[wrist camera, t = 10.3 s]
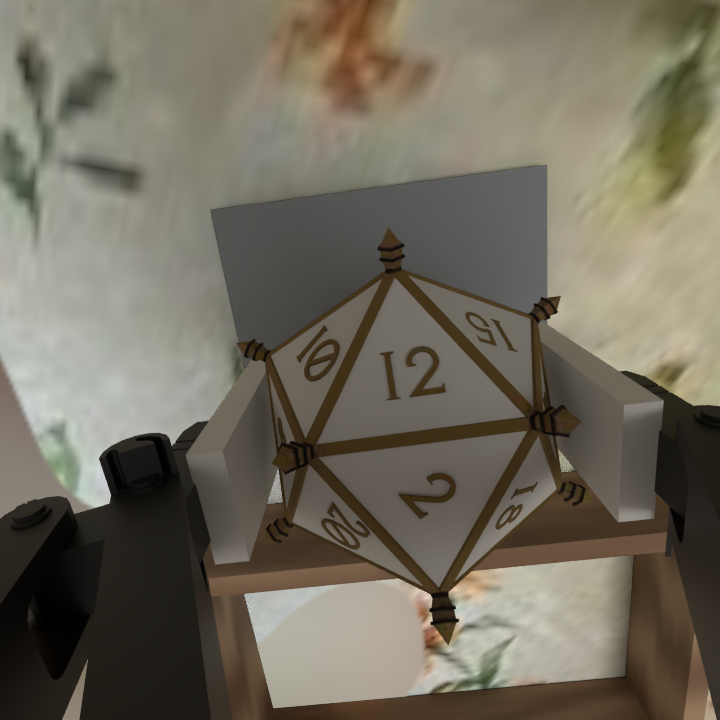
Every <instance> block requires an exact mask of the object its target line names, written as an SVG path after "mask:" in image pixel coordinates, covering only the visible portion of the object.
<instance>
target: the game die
mask: <svg viewBox="0 0 720 720" xmlns="http://www.w3.org/2000/svg"><path fill="white" fill-rule="evenodd" d="M402 247H405V246H404V244H403V243H401V242H400V241H399V240H398V239H397V237H396V236H395V235H394V234H393V232H392V231H391V230H390V228H389V227H388V229H387V231H386V234H385V236H384V238H383V241H382V243H381V244H380V245H379V247H378V248H377V250H378V251H380V253H381V257H380V258H379V260H380V261H381V262H383V264H384V266H385V271H383V272H382V273H381V274H379V275H378V276H376V277H375V278H373V279H372V280H371V281H369V282H368V283H366V284H365V285H364V286H362V287H361V288H359V289H358V290H356V291H355V292H354V293H352V294H351V295H349V296H348V297H347V298H345V299H344V300H342V301H341V302H339V303H338V304H337V305H335V306H334V307H332V308H331V309H330V310H328V311H327V312H325V313H324V314H323V315H321V316H320V317H318V318H317V319H315V320H314V321H313V322H311V323H310V324H308V325H307V326H306V327H304V328H303V329H301V330H300V331H298V332H297V333H296V334H294V335H293V336H291V337H290V338H289V339H287V340H286V341H284V342H283V343H281V344H280V345H279V346H277V347H276V348H274V349H273V350H272V351H271V350H268V349H266V348H265V347H264V346H263V344H264V343H261V344H260V343H258V342H256V339H253V340H252V341H246V342H240V343H237V345H238V346H239V348H240V349H241V351H242V352H243V354H244V357H245V358H252V360H253V361H258V360H261V361H263V362H265V367H266V375H267V383H268V390H269V398H270V406H271V413H272V421H273V429H274V437H275V444H276V452H277V455H276V457H275V459H274V460H273V462H272V464H273V465H275V466H277V467H278V468H279V475H280V483H281V491H282V498H283V506H284V514H285V517H284V518H281V519H278V518H277V519H276V520H275V521H274V523H273V524H271V523H270V524H269V525H268V526H267V528H266V530H267V531H266V534H265V536H264V539H263V542H262V543H270V542H278V543H281V542H282V539H283V538H284V537H288V536H289V535H288V532H289V531H290V529H291V528H292V527H296V528H298V529H300V530H302V531H304V532H306V533H308V534H310V535H312V536H314V537H316V538H318V539H321V540H323V541H325V542H327V543H329V544H331V545H333V546H335V547H337V548H339V549H341V550H343V551H345V552H347V553H349V554H351V555H353V556H355V557H357V558H359V559H361V560H363V561H365V562H367V563H369V564H371V565H373V566H375V567H377V568H379V569H381V570H383V571H385V572H387V573H389V574H391V575H393V576H395V577H397V578H399V579H401V580H403V581H405V582H407V583H409V584H411V585H413V586H415V587H417V588H419V589H421V590H423V591H425V592H427V593H429V594H431V596H432V598H433V600H432V608H430V609H429V612H432V618H433V622H431V625H434V626H435V628H436V629H437V630H438V632H439V633H440V634H441V636H442V637H443V639H444V640H445V641H446V643H447V644H448V645H449V642H450V639H451V636H452V634H453V631H454V628H455V625H456V623H457V622H459V619H456V617H455V613H454V609H456V607H455V606H453V605H452V603H451V601H450V599H449V597H448V592H449V591H450V590H451V589H452V588H453V587H454V586H456V585H457V584H458V583H459V582H460V581H461V580H462V579H463V578H464V577H465V576H467V575H468V574H469V573H470V572H471V571H472V570H473V569H474V568H475V567H476V566H478V565H479V564H480V563H481V562H482V561H483V560H484V559H485V558H486V557H487V556H489V555H490V554H491V553H492V552H493V551H494V550H495V549H496V548H497V547H498V546H500V545H501V544H502V543H503V542H504V541H505V540H506V539H507V538H508V537H509V536H511V535H512V534H513V533H514V532H515V531H516V530H517V529H518V528H519V527H520V526H522V525H523V524H524V523H525V522H526V521H527V520H528V519H529V518H530V517H531V516H533V515H534V514H535V513H536V512H537V511H538V510H539V509H540V508H541V507H542V506H544V505H545V504H546V503H547V502H548V501H549V500H550V499H551V498H552V497H554V496H555V495H556V494H560V495H561V496H562V497H563V498H564V501H565V502H567V501H569V502H571V503H572V504H573V506H576V505H578V504H582V503H589V502H593V500H592V499H591V498H590V496H589V495H588V493H587V492H586V488H585V487H583V486H581V485H579V484H578V486H577V484H575V483H573V482H571V481H569V483H568V482H563V481H562V474H561V468H560V461H559V455H558V449H557V442H556V436H562V437H568V438H569V435H570V432H572V431H573V430H574V429H575V428H576V427H577V426H578V425H580V424H581V423H582V422H581V421H580V420H579V419H577V418H576V417H575V416H573V415H572V414H571V413H569V411H568V410H567V409H566V407H565V406H564V405H561V406H559V407H558V408H555V409H554V407H553V406H551V404H550V397H549V391H548V384H547V378H546V372H545V365H544V359H543V352H542V346H541V340H540V333H539V327H538V324H539V322H540V321H541V320H547V319H549V318H551V317H550V315H553V314H556V313H557V312H558V311H557V308H558V304H559V301H560V297H561V296H558V297H550V298H543V297H541V298H540V300H541V301H539V302H538V303H537V304H536V303H534V304H533V305H534V308H533V309H532V311H531V312H530V313H528V314H527V313H524V312H521V311H519V310H516V309H513V308H510V307H507V306H505V305H502V304H499V303H496V302H493V301H491V300H488V299H485V298H482V297H479V296H477V295H474V294H471V293H468V292H465V291H463V290H460V289H457V288H454V287H451V286H449V285H446V284H443V283H440V282H437V281H435V280H432V279H429V278H426V277H423V276H421V275H418V274H415V273H412V272H409V271H407V270H404V269H402V268H401V263H402V259H403V258H405V255H404V254H402Z"/></svg>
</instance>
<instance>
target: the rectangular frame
mask: <svg viewBox="0 0 720 720" xmlns="http://www.w3.org/2000/svg"><path fill="white" fill-rule="evenodd" d="M561 474H562V481H563V482H568V483H569V481H571V482H573V483H575V484H577V486H578V484H579V485H581V486H583V487H585V488H586V492H587V493H588V495H589V496H590V498H591V499H592V500H593V502H589V503H582V504H578V505H576V506H573V504H572V503H571V502H569V501H567V502H565V501H564V498H563V497H562V496H561V495H560V494H556V495H555V496H554V497H552V498H551V499H550V500H549V501H548V502H547V503H546V504H545V505H544V506H542V507H541V508H540V509H539V510H538V511H537V512H536V513H535V514H534V515H533V516H531V517H530V518H529V519H528V520H527V521H526V522H525V523H524V524H523V525H522V526H520V527H519V528H518V529H517V530H516V531H515V532H514V533H513V534H512V535H511V536H509V537H508V538H507V539H506V540H505V541H504V542H503V543H502V544H501V545H500V546H498V547H497V548H496V549H495V550H494V551H493V552H492V553H491V554H490V555H489V556H487V557H486V558H485V559H484V560H483V561H482V562H481V563H480V564H479V565H478V566H476V567H475V568H474V569H473V570H472V571H476V570H487V569H497V568H507V567H517V566H527V565H537V564H547V563H557V562H567V561H577V560H587V559H597V558H607V557H617V556H627V555H634V568H633V582H632V596H631V610H630V624H629V639H628V653H627V667H626V677H622V678H610V679H599V680H588V681H577V682H565V683H554V684H543V685H532V686H520V687H509V688H498V689H487V690H476V691H464V692H453V693H442V694H431V695H419V696H408V697H398V698H386V699H374V700H363V701H353V702H341V703H330V704H319V705H307V706H296V707H285V708H273V706H272V702H271V698H270V694H269V690H268V686H267V683H266V679H265V675H264V671H263V667H262V663H261V659H260V655H259V652H258V648H257V644H256V640H255V636H254V632H253V628H252V624H251V621H250V617H249V613H248V609H247V605H246V601H245V597H244V594H245V593H255V592H265V591H275V590H285V589H296V588H306V587H316V586H326V585H336V584H346V583H356V582H366V581H376V580H386V579H396V578H397V577H395V576H393V575H391V574H389V573H387V572H385V571H383V570H381V569H379V568H377V567H375V566H373V565H371V564H369V563H367V562H365V561H363V560H361V559H359V558H357V557H355V556H353V555H351V554H349V553H347V552H345V551H343V550H341V549H339V548H337V547H335V546H333V545H331V544H329V543H327V542H325V541H323V540H321V539H318V538H316V537H314V536H312V535H310V534H308V533H306V532H304V531H302V530H300V529H298V528H296V527H292V528H291V529H290V531H289V532H288V535H289V536H288V537H284V538H283V539H282V542H281V543H278V542H270V543H262V542H263V539H264V536H265V534H266V531H267V530H266V528H267V526H268V525H269V524H270V523H271V524H273V523H274V521H275V520H276V519H277V518H278V519H281V518H284V517H285V514H284V506H283V503H277V504H268V505H266V508H265V512H264V515H263V518H262V521H261V525H260V528H259V531H258V534H257V538H256V541H255V544H254V547H253V551H252V554H251V557H250V560H249V561H245V562H235V563H226V564H216V565H215V562H214V558H213V554H212V551H211V547H210V543H209V546H208V548H207V550H206V552H205V555H204V557H203V560H204V564H205V567H206V571H207V574H208V580H209V586H210V592H211V597H212V603H213V609H214V615H215V620H216V626H217V632H218V638H219V644H220V649H221V655H222V661H223V667H224V672H225V678H226V684H227V690H228V695H229V701H230V707H231V713H232V718H233V720H704V717H705V710H706V703H707V696H708V690H709V686H708V682H707V679H706V675H705V671H704V667H703V663H702V659H701V655H700V651H699V647H698V643H697V639H696V635H695V631H694V627H693V623H692V620H691V616H690V612H689V608H688V604H687V600H686V596H685V592H684V588H683V584H682V580H681V576H680V572H679V568H678V564H677V561H676V557H675V553H674V550H672V556H671V557H666V556H665V549H666V538H667V527H668V516H669V505H668V504H667V503H666V502H665V501H664V500H663V499H662V498H661V497H660V496H659V495H658V494H657V493H656V503H655V516H654V519H645V520H635V521H626V522H617V520H616V519H615V518H614V517H613V515H612V514H611V513H610V512H609V511H608V509H607V508H606V507H605V506H604V504H603V503H602V502H601V501H600V499H599V498H598V497H597V496H596V494H595V493H594V492H593V491H592V490H591V488H590V487H589V486H588V485H587V483H586V482H585V481H584V480H583V478H582V477H581V476H580V475H579V473H578V472H577V471H576V472H566V473H561Z"/></svg>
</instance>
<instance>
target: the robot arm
mask: <svg viewBox="0 0 720 720" xmlns="http://www.w3.org/2000/svg"><path fill="white" fill-rule="evenodd" d="M538 327H539V333H540V340H541V346H542V352H543V359H544V365H545V372H546V378H547V384H548V391H549V397H550V404H551V406H553V407H554V409H555V408H558V407H559V406H561V405H564V406H565V407H566V409H567V410H568V411H569V413H571V414H572V415H573V416H575V417H576V418H577V419H579V420H580V421H581V422H582V423H581V424H580V425H578V426H577V427H576V428H575V429H574V430H573V431H572V432H570V435H569V438H568V437H562V436H556V442H557V448H558V449H559V450H560V451H561V452H562V454H563V455H564V456H565V457H566V459H567V460H568V461H569V462H570V464H571V465H572V466H573V467H574V469H575V470H576V471H577V472H578V473H579V475H580V476H581V477H582V478H583V480H584V481H585V482H586V483H587V485H588V486H589V487H590V488H591V490H592V491H593V492H594V493H595V494H596V496H597V497H598V498H599V499H600V501H601V502H602V503H603V504H604V506H605V507H606V508H607V509H608V511H609V512H610V513H611V514H612V515H613V517H614V518H615V519H616V520H617V522H626V521H635V520H645V519H654V516H655V503H656V493H657V494H658V495H659V496H660V497H661V498H662V499H663V500H664V501H665V502H666V503H667V504H668V505H669V516H668V527H667V538H666V549H665V556H666V557H671V556H672V550H674V553H675V557H676V561H677V564H678V568H679V572H680V576H681V580H682V584H683V588H684V592H685V596H686V600H687V604H688V608H689V612H690V616H691V620H692V623H693V627H694V631H695V635H696V639H697V643H698V647H699V651H700V655H701V659H702V663H703V667H704V671H705V675H706V679H707V682H708V686H709V690H710V694H711V698H712V702H713V706H714V710H715V714H716V718H717V720H720V406H712V405H700V406H693V405H691V404H689V403H688V402H686V401H684V400H683V399H681V398H679V397H678V396H676V395H674V394H673V393H669V392H668V390H666V389H665V388H663V387H661V386H658V384H656V383H655V382H653V381H651V380H650V379H648V378H647V377H645V376H641V375H638V374H635V373H632V372H628V371H620V372H619V371H618V370H616V369H614V368H613V367H611V366H610V365H608V364H607V363H605V362H604V361H602V360H601V359H599V358H598V357H596V356H594V355H593V354H591V353H590V352H588V351H587V350H585V349H584V348H582V347H581V346H579V345H577V344H576V343H574V342H573V341H571V340H570V339H568V338H567V337H565V336H564V335H562V334H561V333H559V332H557V331H556V330H554V329H553V328H551V327H550V326H548V325H547V324H545V323H544V322H542V321H540V322H539V324H538ZM276 455H277V452H276V444H275V437H274V429H273V421H272V413H271V406H270V398H269V390H268V383H267V375H266V367H265V362H263V361H261V360H258V361H253V360H252V359H251V361H250V362H249V364H248V365H247V367H246V368H245V370H244V371H243V372H242V374H241V375H240V377H239V378H238V380H237V381H236V383H235V384H234V386H233V387H232V388H231V390H230V391H229V393H228V394H227V396H226V397H225V399H224V400H223V401H222V403H221V404H220V406H219V407H218V409H217V410H216V412H215V413H214V415H213V416H212V417H211V419H210V420H209V421H204V422H197V423H195V424H194V425H192V426H191V427H189V428H188V429H186V430H185V431H183V433H182V434H181V435H180V436H179V438H178V439H177V440H176V443H174V444H173V446H171V442H170V439H169V438H168V436H167V435H165V434H161V433H148V434H143V435H138V436H134V437H131V438H128V439H125V440H122V441H120V442H118V443H116V444H114V445H112V446H111V447H109V448H108V449H107V450H105V451H104V452H103V453H102V455H101V456H100V458H99V460H100V463H101V466H102V469H103V472H104V475H105V478H106V481H107V484H108V487H109V490H110V493H111V499H110V504H107V505H104V506H101V507H97V508H94V509H90V510H87V511H84V512H80V513H76V514H74V513H73V510H72V508H71V505H70V502H69V501H68V499H67V498H64V497H60V496H56V497H46V498H43V499H39V500H37V499H35V500H32V501H29V502H27V504H25V503H24V504H22V505H20V506H18V507H16V508H15V509H14V510H13V511H11V512H9V513H8V514H6V515H4V516H3V517H2V518H1V519H0V720H62V718H63V716H64V714H65V711H66V709H67V707H68V704H69V702H70V699H71V697H72V695H73V692H74V690H75V687H76V685H77V683H78V680H79V678H80V676H81V673H82V671H83V669H84V666H85V664H86V662H87V659H88V663H87V670H86V678H85V685H84V692H83V699H82V707H81V713H80V720H233V718H232V713H231V707H230V701H229V695H228V690H227V684H226V678H225V672H224V667H223V661H222V655H221V649H220V644H219V638H218V632H217V626H216V620H215V615H214V609H213V603H212V597H211V592H210V586H209V580H208V574H207V571H206V567H205V564H204V560H203V557H204V555H205V552H206V550H207V548H208V546H209V543H210V547H211V551H212V554H213V558H214V562H215V565H216V564H226V563H235V562H245V561H249V560H250V557H251V554H252V551H253V547H254V544H255V541H256V538H257V534H258V531H259V528H260V525H261V521H262V518H263V515H264V512H265V508H266V505H267V502H268V498H269V495H270V492H271V489H272V485H273V482H274V479H275V476H276V472H277V469H278V467H277V466H275V465H273V464H272V462H273V460H274V459H275V457H276Z"/></svg>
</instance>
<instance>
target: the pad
mask: <svg viewBox="0 0 720 720" xmlns="http://www.w3.org/2000/svg"><path fill="white" fill-rule="evenodd" d="M210 211H211V216H212V220H213V225H214V230H215V234H216V239H217V243H218V248H219V253H220V257H221V262H222V267H223V271H224V276H225V280H226V285H227V290H228V294H229V299H230V304H231V308H232V313H233V317H234V322H235V327H236V331H237V336H238V341H239V343H240V342H246V341H252V340H253V339H256V342H258V343H260V344H261V343H264V344H263V346H264V347H265V348H266V349H268V350H271V351H272V350H273V349H274V348H276V347H277V346H279V345H280V344H281V343H283V342H284V341H286V340H287V339H289V338H290V337H291V336H293V335H294V334H296V333H297V332H298V331H300V330H301V329H303V328H304V327H306V326H307V325H308V324H310V323H311V322H313V321H314V320H315V319H317V318H318V317H320V316H321V315H323V314H324V313H325V312H327V311H328V310H330V309H331V308H332V307H334V306H335V305H337V304H338V303H339V302H341V301H342V300H344V299H345V298H347V297H348V296H349V295H351V294H352V293H354V292H355V291H356V290H358V289H359V288H361V287H362V286H364V285H365V284H366V283H368V282H369V281H371V280H372V279H373V278H375V277H376V276H378V275H379V274H381V273H382V272H383V271H385V266H384V264H383V262H381V261H380V260H379V258H380V257H381V253H380V251H378V250H377V248H378V247H379V245H380V244H381V243H382V241H383V238H384V236H385V234H386V231H387V229H388V227H389V228H390V230H391V231H392V232H393V234H394V235H395V236H396V237H397V239H398V240H399V241H400V242H401V243H403V244H404V246H405V247H402V254H404V255H405V258H403V259H402V263H401V268H402V269H404V270H407V271H409V272H412V273H415V274H418V275H421V276H423V277H426V278H429V279H432V280H435V281H437V282H440V283H443V284H446V285H449V286H451V287H454V288H457V289H460V290H463V291H465V292H468V293H471V294H474V295H477V296H479V297H482V298H485V299H488V300H491V301H493V302H496V303H499V304H502V305H505V306H507V307H510V308H513V309H516V310H519V311H521V312H524V313H527V314H528V313H530V312H531V311H532V309H533V308H534V305H533V304H534V303H536V304H537V303H538V302H539V301H541V300H540V298H541V297H543V298H547V165H542V166H535V167H527V168H520V169H512V170H505V171H497V172H490V173H482V174H475V175H467V176H460V177H452V178H445V179H438V180H430V181H423V182H415V183H408V184H400V185H393V186H385V187H378V188H370V189H363V190H356V191H348V192H341V193H333V194H326V195H318V196H311V197H303V198H296V199H288V200H281V201H273V202H266V203H259V204H251V205H244V206H236V207H229V208H221V209H214V210H210ZM541 321H542V322H544V323H545V324H547V320H541ZM240 350H241V349H240ZM241 354H242V359H243V364H244V368H246V367H247V365H248V364H249V362H250V361H251V359H252V358H245V357H244V354H243V352H242V351H241Z"/></svg>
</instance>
